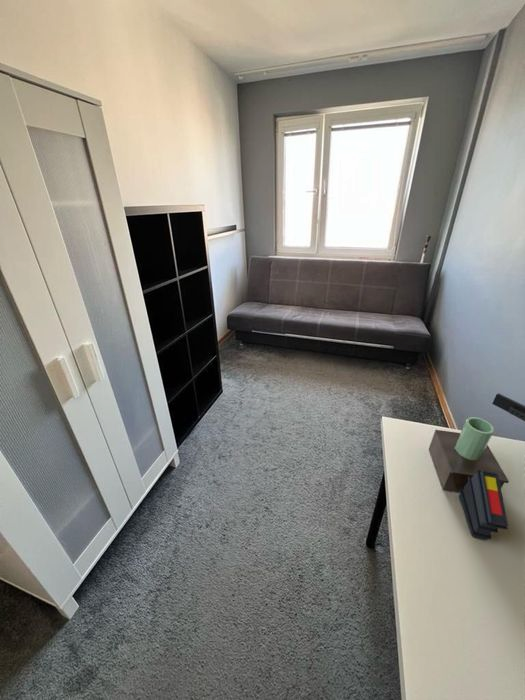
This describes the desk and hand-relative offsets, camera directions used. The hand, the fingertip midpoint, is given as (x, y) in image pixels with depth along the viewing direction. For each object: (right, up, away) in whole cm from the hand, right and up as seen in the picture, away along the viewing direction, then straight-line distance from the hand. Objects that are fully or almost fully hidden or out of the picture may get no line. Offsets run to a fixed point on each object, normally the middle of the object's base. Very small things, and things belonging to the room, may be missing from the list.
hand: (512, 389), depth 65 cm
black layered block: (-5, -34, +5) cm, 35 cm away
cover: (-1, -20, +13) cm, 24 cm away
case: (0, -27, +17) cm, 32 cm away
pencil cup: (0, -19, +13) cm, 23 cm away
